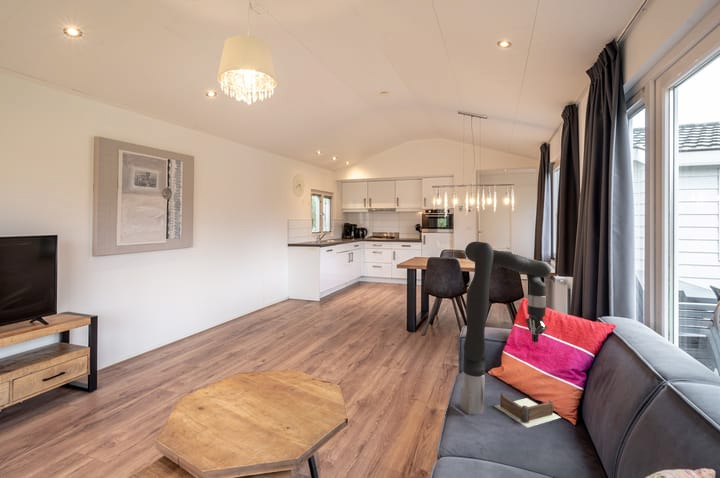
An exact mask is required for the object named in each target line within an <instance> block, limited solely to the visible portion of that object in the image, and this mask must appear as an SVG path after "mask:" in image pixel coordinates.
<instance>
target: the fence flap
mask: <svg viewBox="0 0 720 478" xmlns="http://www.w3.org/2000/svg"><path fill="white" fill-rule="evenodd" d="M553 413H554V401H552V400H548V402H547V401H546V402H544V403H540V404H538V405H535V406H531V407H529V412H528V420H532V419H536V418H539V417H543V416H547V415H551V414H553Z"/></svg>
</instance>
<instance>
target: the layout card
mask: <svg viewBox="0 0 720 478" xmlns="http://www.w3.org/2000/svg"><path fill="white" fill-rule="evenodd" d="M513 401H514V402H515V403H517V404H519V405H520V406H527V407H531V406H535V405H539V404H538V403H536V402H534V401H533V400H531V399H529V398H528V397H526V398H522V399H517V400H513ZM494 407H495V408H496V409H498V410H499V411H501V412H502V413H504V414H506V415H507V416H508V417H510V418H512V419H513V420H515V421H516V422H518V423H519V424H521V425H523V426H524V427H525V428H527V429H528V428H532V427H534V426H537V425H542V424H544V423H548V422H551V421H554V420H557V419H561V418H562V417H561V416H560V415H558V414H556V413H554V412H553V414H551V415H547V416H543V417H539V418H536V419H532V420H528V422H523V421H522V419H519V418H518V417H516V416H515V415H513V414H512V413H510V412H508V411H507V410H505V409H504V408H502V407H500V404H497V405H494Z"/></svg>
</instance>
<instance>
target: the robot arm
mask: <svg viewBox="0 0 720 478" xmlns="http://www.w3.org/2000/svg"><path fill="white" fill-rule="evenodd" d="M464 254H465V257H466V258H467V259H468V260H469V261H470V262H473V263H474V275H473V278H472V280H471V282H470V284H469V286H468V289H467V291H466V297H465V298H466V299H465V300H466V301H465V302H466V303H465V309H466V310H465V314H466V315H465V316H466V334H465V339H464V344H463V365H462V387H460V400H459V402H460V403H459V409H461V410H462V411H463V412H465V413H466V414H467V415H474V416H475V415H482V414H483V413H484V409H485V408H484V405H485V376H486V354H487V353H486V351H487V345H486V344H487V343H486V340H485V331H486V328H485V327H486V323H487V318H488V312H489V304H490V303H489V299H490V284H491V272H492V268H493V265H495V266H500V267H503V268H506V269H509V270H511V271H515V272H517V273H524V274H526V278H527V283H528V297H527V307H526V310H527V311H526V312H527V315H528V318H525V322H526V325H527V329H528V331H530V332H531V342H533V343H539V335H542V334H543V333H544V332H545V331H546V329H547V328H548V327H547V325H545V324H544V317H545V316H546V312H547V311H546V310H547V309H546V308H547V307H546V306H547V299H546V297H547V296H546V294H547V293H546V292H547V285H546V284H545V283H544V282H543V281H542V279H541V278H548V276H550V274H551V271H552V268H551V266H550V265H549V264H548V263H546V262H544V261H540V260H535V259H531V258H529V257H526V256H522V255H518V254H515V253H511V252H507V251H506V252H505V251H501V250H496V249H493V246H492V245H491V244H490V243H488V242H484V241H472V242H469V243H468V244H467V245H466V247H465V249H464Z"/></svg>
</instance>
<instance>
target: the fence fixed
mask: <svg viewBox="0 0 720 478" xmlns="http://www.w3.org/2000/svg"><path fill="white" fill-rule="evenodd" d="M499 399H500V401H499V405H500V407H502V408H504V409H505V410H507V411H508V412H510V413H512V414H513V415H515V416H516V417H518V418H519V419H522V421H523V422H528V412H529V407H527V406H520V405H519V404H517V403H515V402H514V401H515V400H512V399H510V398H508V397H507V396H505V394H504V393H500V397H499Z"/></svg>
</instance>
